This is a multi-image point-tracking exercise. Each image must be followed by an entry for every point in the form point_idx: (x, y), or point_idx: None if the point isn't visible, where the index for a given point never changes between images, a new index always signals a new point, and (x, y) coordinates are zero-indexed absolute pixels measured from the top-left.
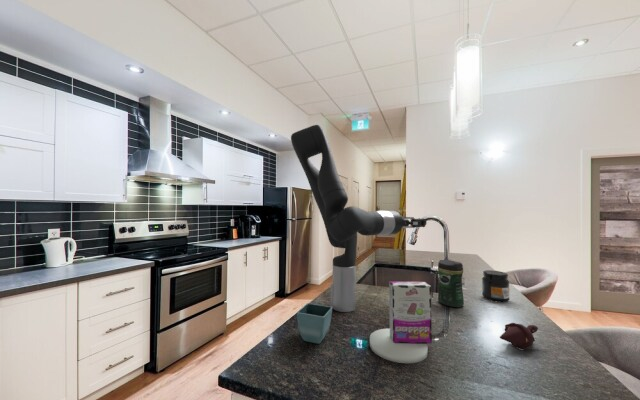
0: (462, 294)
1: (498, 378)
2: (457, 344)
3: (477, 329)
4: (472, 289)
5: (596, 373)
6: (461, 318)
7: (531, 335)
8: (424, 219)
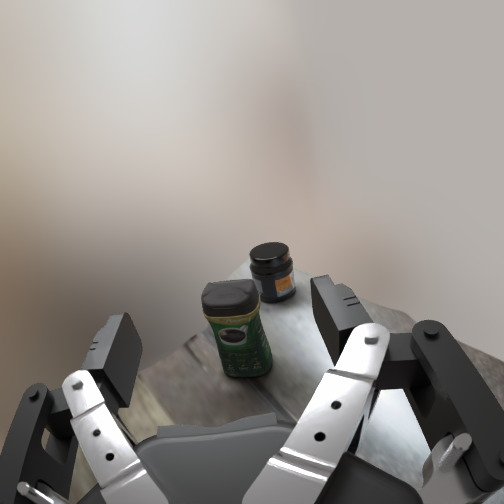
0: (266, 338)
1: (495, 494)
2: None
3: None
4: None
5: (495, 366)
6: None
7: None
8: (446, 333)
